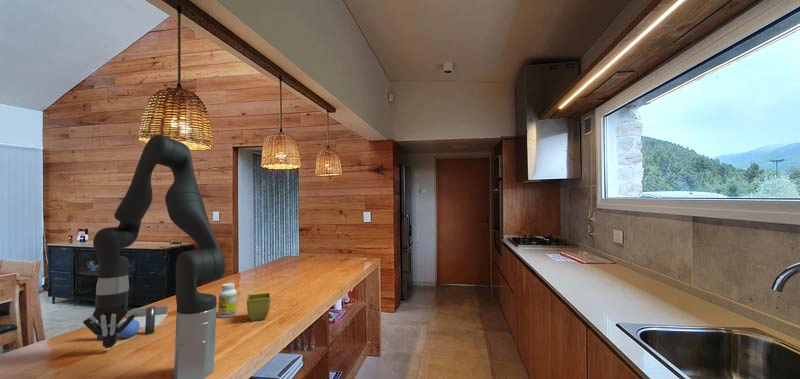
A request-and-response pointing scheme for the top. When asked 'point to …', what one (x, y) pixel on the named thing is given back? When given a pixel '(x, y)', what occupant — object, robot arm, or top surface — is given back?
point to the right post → (150, 320)
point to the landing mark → (143, 320)
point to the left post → (99, 337)
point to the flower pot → (258, 306)
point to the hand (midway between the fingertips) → (109, 346)
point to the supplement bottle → (227, 301)
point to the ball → (129, 329)
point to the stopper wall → (157, 310)
